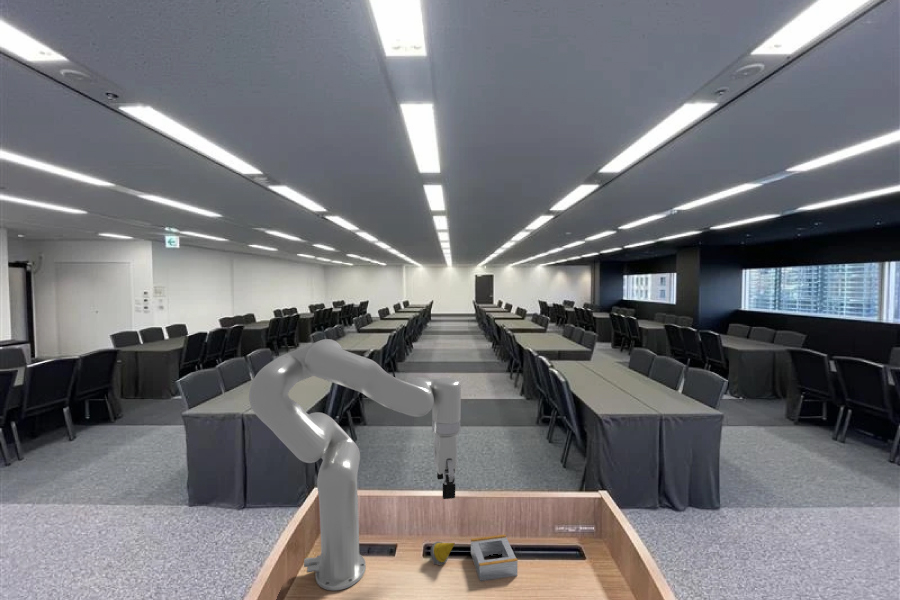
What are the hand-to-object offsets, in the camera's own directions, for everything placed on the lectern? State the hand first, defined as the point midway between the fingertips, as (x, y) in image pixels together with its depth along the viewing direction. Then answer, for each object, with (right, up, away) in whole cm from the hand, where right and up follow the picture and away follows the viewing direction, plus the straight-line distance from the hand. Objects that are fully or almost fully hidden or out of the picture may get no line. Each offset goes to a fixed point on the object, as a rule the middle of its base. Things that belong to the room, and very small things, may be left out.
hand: (445, 487), depth 105 cm
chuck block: (+13, -20, 0) cm, 24 cm away
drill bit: (-1, -21, +1) cm, 21 cm away
